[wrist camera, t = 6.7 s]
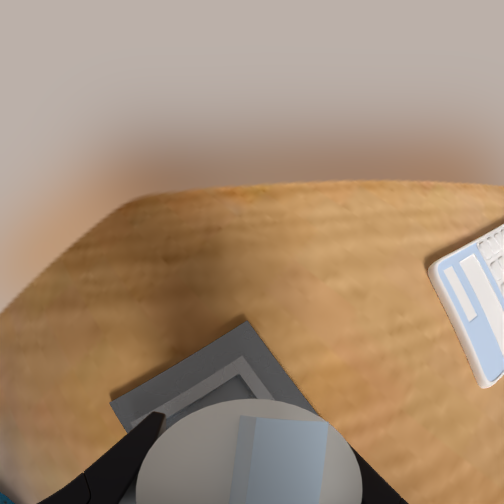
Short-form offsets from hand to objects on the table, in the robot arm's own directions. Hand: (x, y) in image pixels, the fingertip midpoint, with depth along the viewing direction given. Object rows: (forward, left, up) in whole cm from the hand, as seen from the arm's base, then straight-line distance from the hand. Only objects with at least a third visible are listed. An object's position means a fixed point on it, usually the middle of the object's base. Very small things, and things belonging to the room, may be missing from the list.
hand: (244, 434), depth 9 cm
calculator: (+29, -9, -12) cm, 33 cm away
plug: (-1, -1, -7) cm, 7 cm away
